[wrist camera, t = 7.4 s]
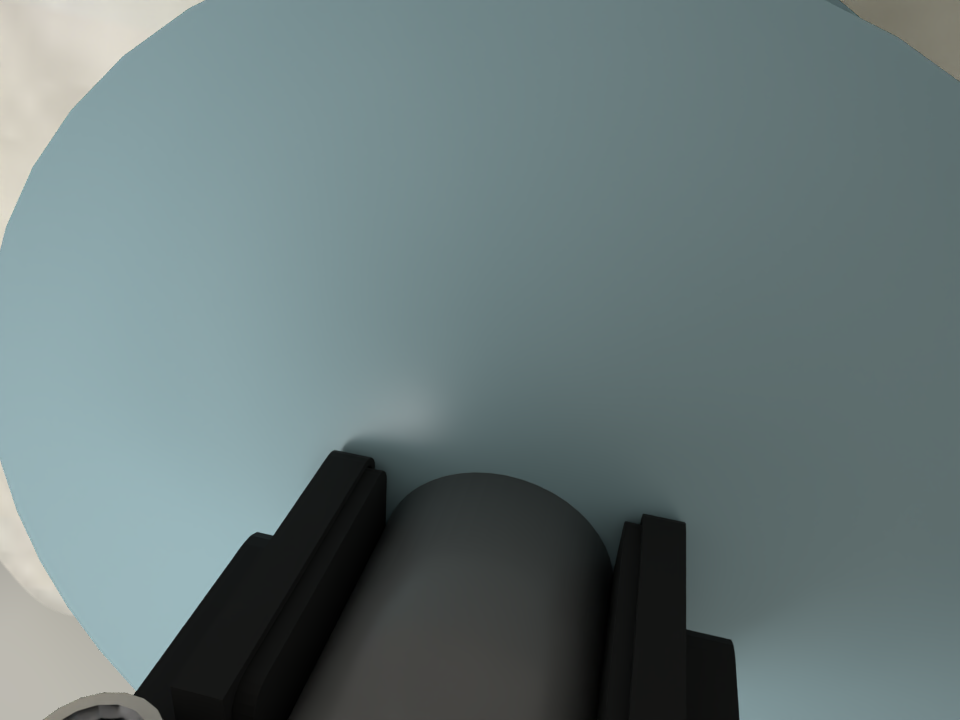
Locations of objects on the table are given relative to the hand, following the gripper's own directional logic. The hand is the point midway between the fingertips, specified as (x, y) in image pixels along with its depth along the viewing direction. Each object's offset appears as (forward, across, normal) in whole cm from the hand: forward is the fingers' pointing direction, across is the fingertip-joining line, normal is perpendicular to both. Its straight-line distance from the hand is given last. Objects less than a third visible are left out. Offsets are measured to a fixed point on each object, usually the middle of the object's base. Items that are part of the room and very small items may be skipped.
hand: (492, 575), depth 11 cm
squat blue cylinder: (+7, 0, 0) cm, 7 cm away
